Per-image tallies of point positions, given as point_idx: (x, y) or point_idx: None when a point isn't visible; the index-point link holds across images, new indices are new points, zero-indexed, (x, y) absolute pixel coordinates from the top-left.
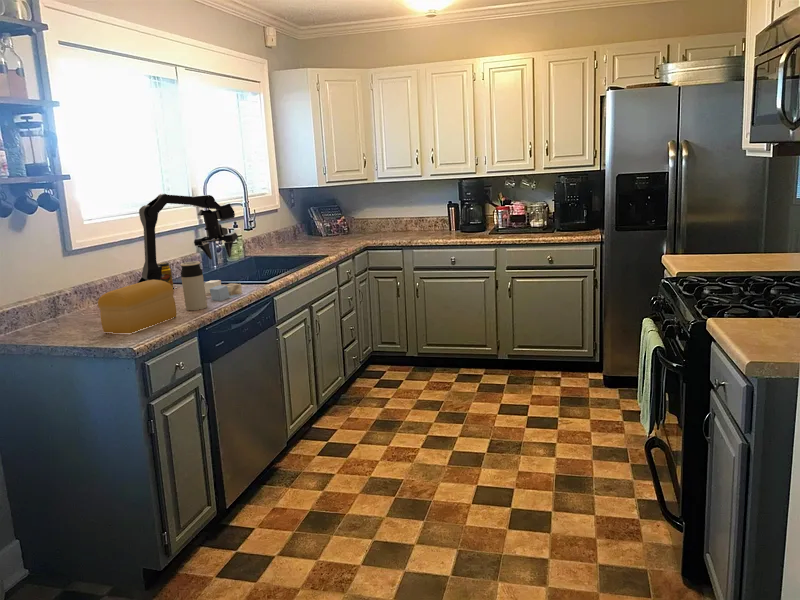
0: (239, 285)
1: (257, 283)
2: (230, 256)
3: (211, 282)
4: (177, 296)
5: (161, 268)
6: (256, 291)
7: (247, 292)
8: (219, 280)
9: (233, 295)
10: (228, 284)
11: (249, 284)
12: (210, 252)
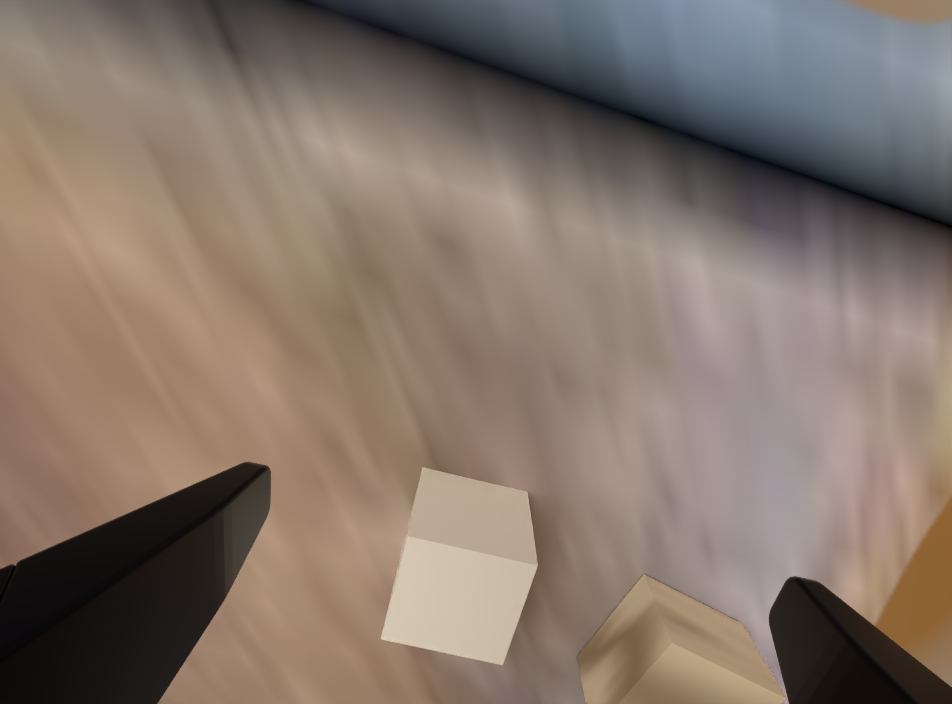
0: (768, 701)
1: (856, 191)
2: (814, 592)
3: (466, 649)
4: None
5: None
6: (865, 589)
7: None
8: (527, 574)
9: None
10: (658, 683)
11: (762, 224)
12: (139, 578)
